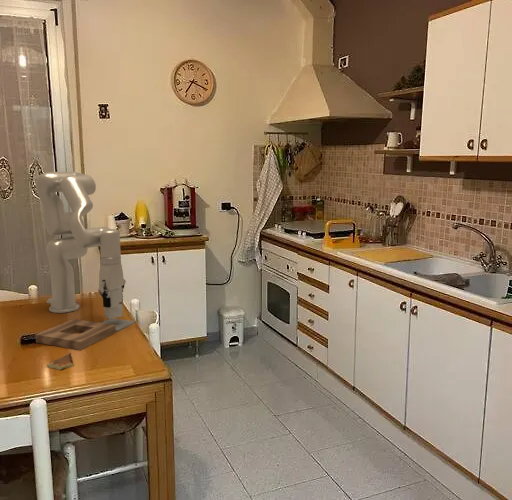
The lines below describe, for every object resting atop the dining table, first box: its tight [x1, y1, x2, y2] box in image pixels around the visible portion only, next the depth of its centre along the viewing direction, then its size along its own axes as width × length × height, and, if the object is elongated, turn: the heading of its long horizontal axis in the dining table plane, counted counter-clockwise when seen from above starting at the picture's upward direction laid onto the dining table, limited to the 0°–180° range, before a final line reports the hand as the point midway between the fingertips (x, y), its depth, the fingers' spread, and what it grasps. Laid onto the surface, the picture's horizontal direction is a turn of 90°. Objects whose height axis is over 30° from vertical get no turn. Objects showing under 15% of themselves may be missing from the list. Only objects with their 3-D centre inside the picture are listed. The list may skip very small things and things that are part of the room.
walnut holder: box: [35, 318, 117, 351], centre depth 194 cm, size 20×20×3 cm
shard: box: [46, 352, 75, 371], centre depth 171 cm, size 11×8×2 cm
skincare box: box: [103, 286, 124, 319], centre depth 207 cm, size 6×4×12 cm
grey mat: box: [100, 318, 136, 333], centre depth 209 cm, size 12×12×1 cm
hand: (113, 304), depth 207 cm, fingers closed on skincare box, 7 cm apart
